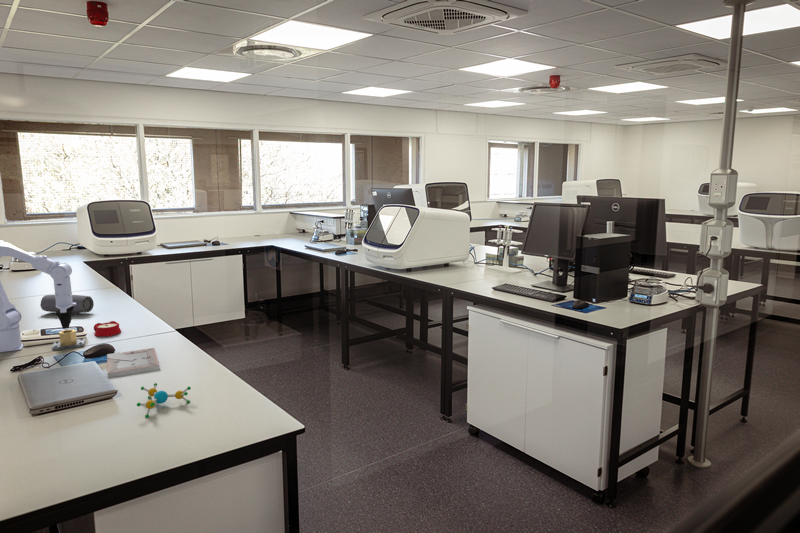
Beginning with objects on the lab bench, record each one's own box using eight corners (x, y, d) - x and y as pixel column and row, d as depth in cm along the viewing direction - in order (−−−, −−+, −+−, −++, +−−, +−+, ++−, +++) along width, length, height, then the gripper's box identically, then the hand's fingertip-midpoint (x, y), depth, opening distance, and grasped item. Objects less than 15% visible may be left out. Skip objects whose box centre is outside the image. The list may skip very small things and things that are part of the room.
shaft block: (52, 350, 206) (50, 337, 205) (54, 344, 213) (52, 332, 212) (84, 346, 211) (82, 333, 210) (85, 341, 218) (83, 328, 217)
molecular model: (197, 403, 160) (173, 390, 169) (196, 388, 159) (172, 376, 168) (143, 422, 147) (121, 407, 157) (142, 406, 146) (120, 392, 156)
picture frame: (107, 360, 198) (107, 379, 179) (107, 354, 197) (107, 372, 179) (154, 353, 206) (159, 370, 187) (154, 347, 205) (159, 364, 187)
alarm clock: (96, 331, 221) (90, 316, 231) (97, 344, 223) (91, 328, 234) (123, 327, 227) (116, 313, 238) (123, 339, 229) (116, 325, 240)
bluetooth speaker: (95, 312, 265) (93, 293, 263) (82, 316, 256) (80, 297, 254) (54, 310, 267) (52, 292, 266) (40, 315, 258) (38, 296, 257)
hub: (60, 345, 208) (58, 334, 207) (61, 342, 213) (60, 330, 212) (76, 343, 211) (75, 332, 210) (77, 340, 216) (75, 328, 215)
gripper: (73, 296, 204) (77, 329, 206) (76, 289, 217) (79, 320, 219) (52, 298, 201) (56, 331, 203) (56, 290, 213) (59, 322, 216)
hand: (66, 325), depth 211 cm, fingers open, 7 cm apart
